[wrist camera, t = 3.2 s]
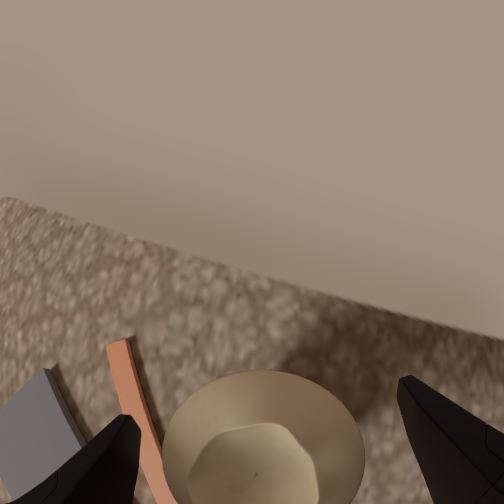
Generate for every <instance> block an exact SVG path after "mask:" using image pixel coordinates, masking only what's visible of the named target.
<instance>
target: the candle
mask: <svg viewBox="0 0 504 504" xmlns="http://www.w3.org/2000/svg"><path fill="white" fill-rule="evenodd" d="M162 465H163V471H164V475H165V479H166V482H167V485H168V487H169V490H170V491H171V493H172V495H173V497H174V499H175V500H176V502H177V503H178V504H351V502H352V501H353V499H354V498H355V496H356V494H357V492H358V489H359V487H360V485H361V481H362V478H363V474H364V467H365V449H364V444H363V439H362V436H361V433H360V430H359V428H358V426H357V424H356V422H355V420H354V418H353V416H352V415H351V414H350V412H349V411H348V410H347V408H346V407H345V406H344V405H343V404H342V403H341V402H340V401H339V400H338V399H337V398H336V397H335V396H334V395H333V394H331V393H330V392H329V391H327V390H326V389H325V388H323V387H321V386H319V385H318V384H316V383H314V382H312V381H310V380H308V379H305V378H303V377H300V376H297V375H293V374H290V373H286V372H280V371H273V370H251V371H243V372H237V373H232V374H229V375H226V376H223V377H220V378H218V379H215V380H213V381H211V382H209V383H207V384H206V385H204V386H202V387H201V388H199V389H198V390H196V391H195V392H194V393H193V394H191V395H190V396H189V397H188V398H187V399H186V400H185V401H184V402H183V403H182V404H181V405H180V407H179V408H178V409H177V411H176V412H175V413H174V415H173V417H172V419H171V421H170V422H169V424H168V427H167V430H166V433H165V436H164V441H163V446H162Z"/></svg>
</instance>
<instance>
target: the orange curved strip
mask: <svg viewBox="0 0 504 504" xmlns="http://www.w3.org/2000/svg"><path fill="white" fill-rule="evenodd" d="M106 349H107V354H108V358H109V362H110V367H111V371H112V375H113V379H114V383H115V386H116V390H117V394H118V397H119V401H120V404H121V408H122V411H123V414H129V415H131V416H132V417H133V418H134V420H135V421H136V423H137V424H138V426H139V427H140V429H141V433H142V435H141V446H140V458H139V461H140V464H141V466H142V469H143V471H144V474H145V476H146V479H147V481H148V484H149V486H150V488H151V491H152V493H153V495H154V497H155V500H156V502H157V504H178V503H177V502H176V500H175V499H174V497H173V495H172V493H171V491H170V490H169V487H168V485H167V482H166V479H165V475H164V471H163V465H162V448H161V445H160V442H159V440H158V437H157V434H156V431H155V429H154V426H153V423H152V420H151V417H150V414H149V411H148V408H147V404H146V401H145V398H144V395H143V391H142V388H141V385H140V381H139V378H138V374H137V370H136V367H135V363H134V359H133V355H132V351H131V347H130V343H129V340H126V339H123V340H121V341H118V342H115V343H112V344H110V345H107V346H106Z"/></svg>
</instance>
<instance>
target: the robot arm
mask: <svg viewBox="0 0 504 504" xmlns="http://www.w3.org/2000/svg"><path fill="white" fill-rule="evenodd" d="M397 401H398V405H399V408H400V412H401V415H402V418H403V422H404V425H405V429H406V433H407V436H408V439H409V442H410V444H411V447H412V449H413V451H414V454H415V456H416V459H417V461H418V464H419V466H420V469H421V471H422V474H423V476H424V479H425V481H426V484H427V487H428V489H429V492H430V495H431V497H432V500H433V503H434V504H504V434H503V433H502V432H500V431H498V430H497V429H495V428H493V427H492V426H490V425H489V424H487V425H486V423H485V422H484V421H482V420H481V419H479V418H477V417H476V416H474V415H473V414H471V413H470V412H468V411H466V410H465V409H463V408H462V407H460V406H459V405H457V404H456V403H454V402H452V401H451V400H449V399H448V398H446V397H445V396H443V395H442V394H440V393H439V392H437V391H435V390H434V389H432V388H431V387H429V386H428V385H426V384H425V383H423V382H422V381H420V380H419V379H417V378H415V377H414V376H412V375H408V376H405V377H402V378H400V379H399V382H398V389H397ZM141 435H142V433H141V429H140V427H139V426H138V424H137V423H136V421H135V420H134V418H133V417H132V416H131V415H129V414H120V415H118V416H117V417H116V418H115V419H114V420H113V421H112V422H111V423H109V424H108V425H107V426H106V427H105V428H104V429H103V430H102V431H101V432H99V433H98V434H97V435H96V436H95V437H94V438H93V439H92V440H90V441H89V442H88V443H87V444H86V445H85V446H84V447H82V448H81V449H80V450H79V451H78V452H77V453H76V454H74V455H73V456H72V457H71V458H70V459H69V460H68V461H66V462H65V463H64V464H63V465H62V466H61V467H59V468H58V470H56V471H55V472H54V473H52V474H51V475H50V476H49V477H48V478H46V479H45V480H44V481H43V482H41V483H40V484H38V485H37V486H36V487H34V488H33V489H31V490H30V491H28V492H27V493H25V494H24V495H22V496H21V497H19V498H18V499H16V500H14V501H13V502H10V503H6V504H132V502H133V496H134V491H135V485H136V480H137V475H138V469H139V458H140V446H141Z"/></svg>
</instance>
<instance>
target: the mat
mask: <svg viewBox="0 0 504 504" xmlns="http://www.w3.org/2000/svg"><path fill="white" fill-rule="evenodd" d="M86 444H87V443H86V441H85V439H84V438H83V436H82V434H81V432H80V430H79V429H78V427H77V425H76V423H75V421H74V419H73V417H72V415H71V413H70V411H69V409H68V407H67V405H66V403H65V401H64V399H63V397H62V395H61V392H60V390H59V388H58V386H57V384H56V381H55V379H54V377H53V374H52V372H51V370H50V369H45V368H43V369H42V370H41V371H40V372H39V373H38V374H36V375H35V376H34V377H33V378H32V379H31V380H30V381H29V382H28V383H27V384H26V385H25V386H24V387H23V388H22V389H21V390H20V391H19V392H18V393H17V394H15V395H14V396H13V397H12V398H11V399H10V400H9V401H8V402H7V403H6V404H5V405H4V406H3V407H2V408H1V409H0V476H1V478H2V480H3V482H4V484H5V486H6V488H7V490H8V492H9V493H10V495H11V497H12V499H13V501H14V500H16V499H18V498H19V497H21V496H22V495H24V494H25V493H27V492H28V491H30V490H31V489H33V488H34V487H36V486H37V485H38V484H40V483H41V482H43V481H44V480H45V479H46V478H48V477H49V476H50V475H51V474H52V473H54V472H55V471H56V470H58V468H59V467H61V466H62V465H63V464H64V463H65V462H66V461H68V460H69V459H70V458H71V457H72V456H73V455H74V454H76V453H77V452H78V451H79V450H80V449H81V448H82V447H84V446H85V445H86Z"/></svg>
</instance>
